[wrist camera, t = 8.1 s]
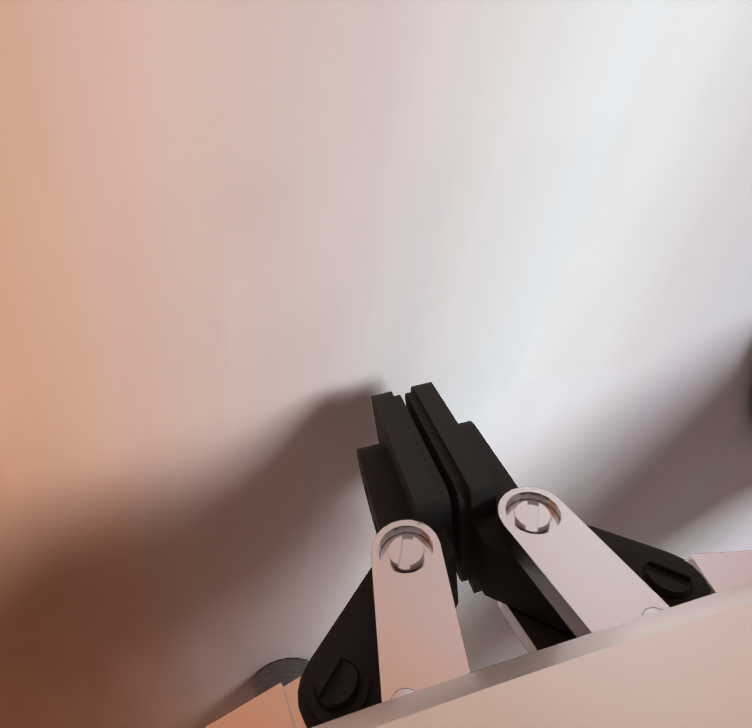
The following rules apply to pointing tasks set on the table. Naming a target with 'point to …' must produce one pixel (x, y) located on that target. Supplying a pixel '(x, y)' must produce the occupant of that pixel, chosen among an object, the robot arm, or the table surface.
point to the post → (278, 674)
